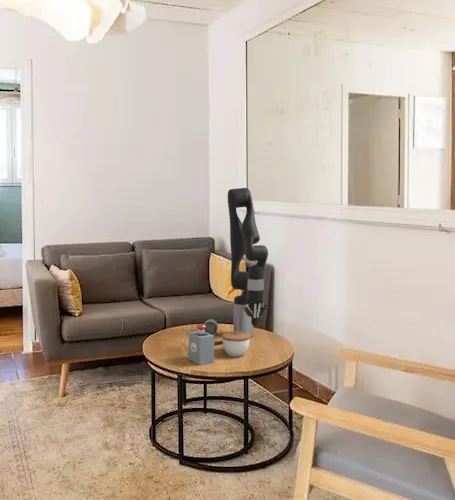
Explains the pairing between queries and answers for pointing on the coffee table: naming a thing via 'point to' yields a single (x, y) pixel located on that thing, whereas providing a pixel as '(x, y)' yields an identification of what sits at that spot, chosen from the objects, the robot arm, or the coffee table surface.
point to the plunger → (201, 329)
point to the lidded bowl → (236, 343)
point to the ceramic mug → (211, 326)
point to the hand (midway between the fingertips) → (254, 325)
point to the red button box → (201, 348)
